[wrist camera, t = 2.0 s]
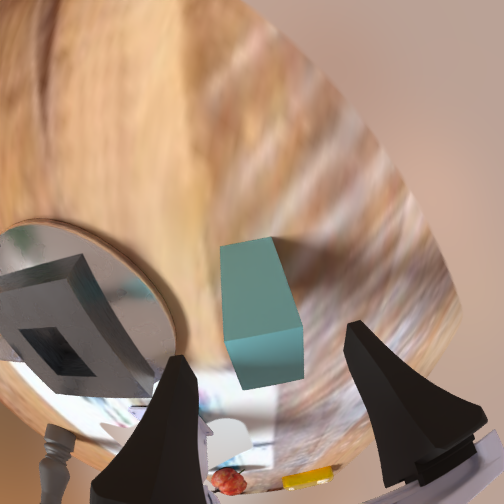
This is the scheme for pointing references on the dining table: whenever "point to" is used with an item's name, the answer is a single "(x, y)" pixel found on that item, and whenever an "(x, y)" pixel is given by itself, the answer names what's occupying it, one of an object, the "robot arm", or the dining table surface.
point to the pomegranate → (228, 482)
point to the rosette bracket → (80, 312)
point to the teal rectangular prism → (260, 316)
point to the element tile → (308, 478)
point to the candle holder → (55, 463)
